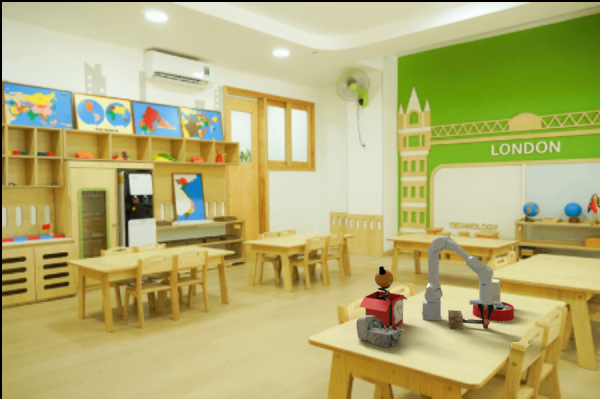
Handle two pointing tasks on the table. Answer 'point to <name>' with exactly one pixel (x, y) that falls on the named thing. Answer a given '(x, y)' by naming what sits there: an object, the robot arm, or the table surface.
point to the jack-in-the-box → (384, 301)
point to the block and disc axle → (478, 322)
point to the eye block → (455, 319)
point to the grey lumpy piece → (377, 331)
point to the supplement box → (495, 290)
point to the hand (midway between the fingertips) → (485, 319)
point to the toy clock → (497, 312)
